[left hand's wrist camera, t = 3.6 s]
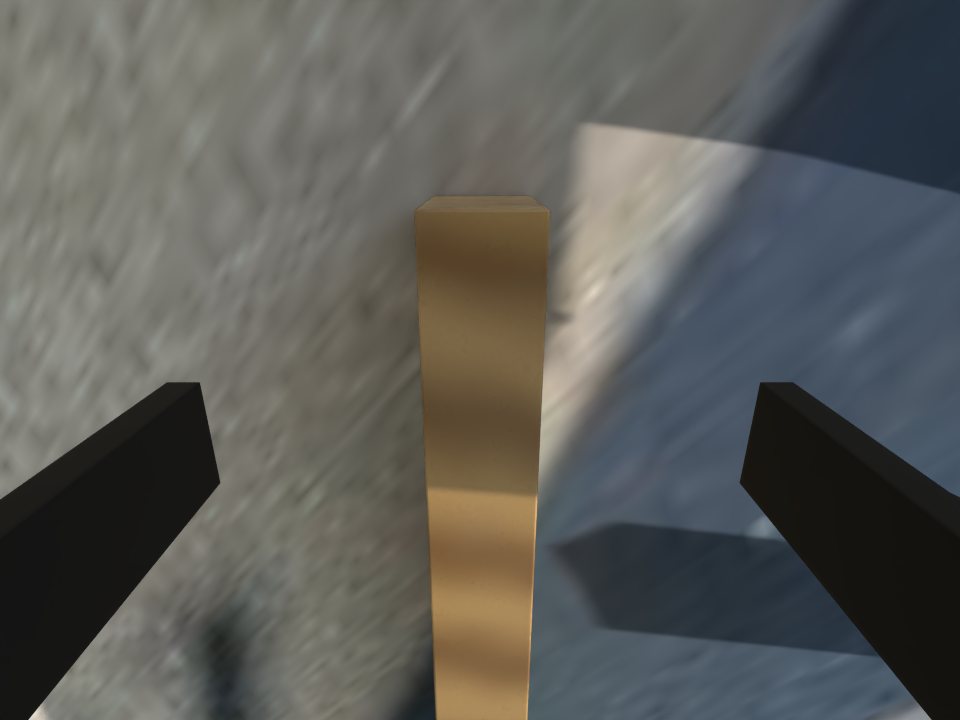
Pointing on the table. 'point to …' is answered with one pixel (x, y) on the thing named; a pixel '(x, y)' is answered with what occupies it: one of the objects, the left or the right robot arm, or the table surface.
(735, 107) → the table surface
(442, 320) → the beam
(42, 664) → the left robot arm
